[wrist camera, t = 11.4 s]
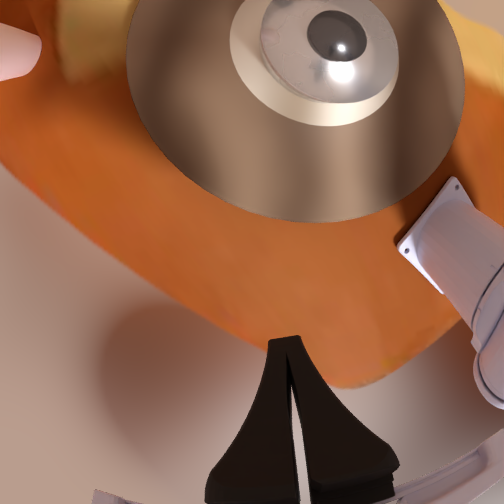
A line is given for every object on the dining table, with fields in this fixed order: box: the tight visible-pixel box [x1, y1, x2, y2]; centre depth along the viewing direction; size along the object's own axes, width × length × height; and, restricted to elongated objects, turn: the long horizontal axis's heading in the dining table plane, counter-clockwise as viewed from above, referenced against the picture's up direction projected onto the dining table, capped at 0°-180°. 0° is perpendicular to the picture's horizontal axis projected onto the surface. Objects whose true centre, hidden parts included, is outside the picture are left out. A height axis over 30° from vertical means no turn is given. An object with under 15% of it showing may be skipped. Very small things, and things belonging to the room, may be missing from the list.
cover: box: [259, 0, 398, 104], centre depth 10 cm, size 7×7×3 cm
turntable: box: [126, 0, 465, 223], centre depth 11 cm, size 22×22×4 cm
